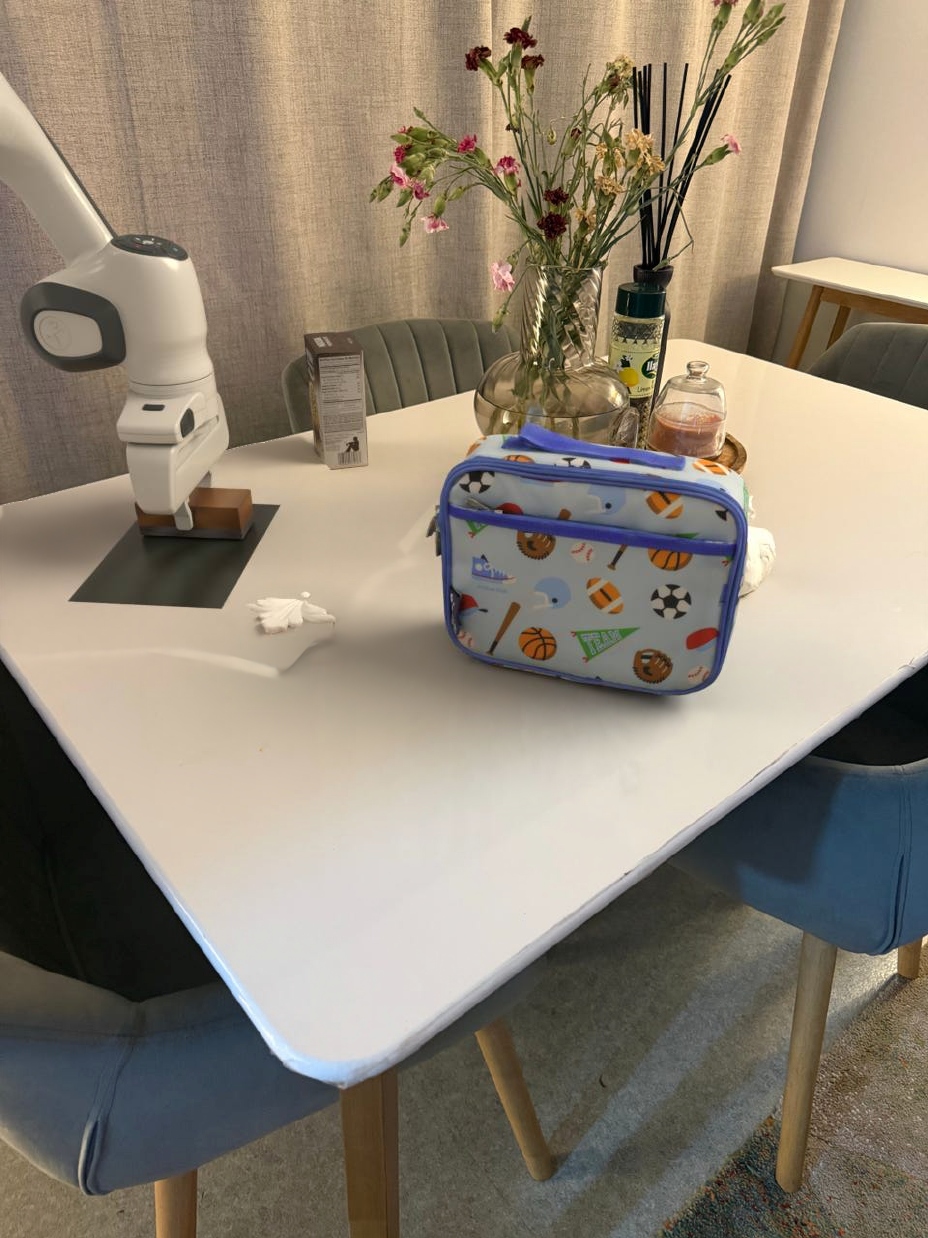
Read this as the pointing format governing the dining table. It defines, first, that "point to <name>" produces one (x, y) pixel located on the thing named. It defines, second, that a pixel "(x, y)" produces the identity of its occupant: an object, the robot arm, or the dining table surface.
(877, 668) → the dining table surface
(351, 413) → the coffee box
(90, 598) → the slate board
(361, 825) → the dining table surface
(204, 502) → the eraser
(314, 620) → the acanthus leaf ornament
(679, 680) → the lunch box
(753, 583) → the bust
